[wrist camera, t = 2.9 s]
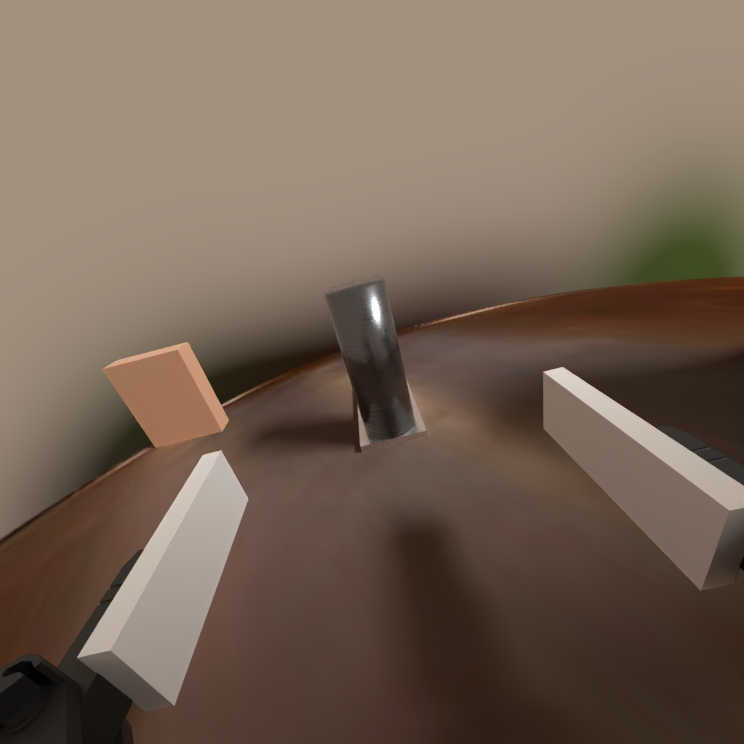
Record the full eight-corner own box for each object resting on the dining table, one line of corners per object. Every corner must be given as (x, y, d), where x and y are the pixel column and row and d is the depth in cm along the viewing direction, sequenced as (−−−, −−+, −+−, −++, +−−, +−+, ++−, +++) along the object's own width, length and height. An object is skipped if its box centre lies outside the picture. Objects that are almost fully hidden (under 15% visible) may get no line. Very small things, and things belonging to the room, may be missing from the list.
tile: (229, 420, 33) (188, 341, 30) (222, 431, 32) (177, 349, 28) (166, 435, 34) (117, 360, 30) (155, 447, 32) (102, 369, 28)
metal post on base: (405, 377, 33) (379, 262, 28) (427, 437, 23) (396, 280, 19) (357, 389, 33) (324, 276, 28) (362, 452, 24) (313, 301, 19)
